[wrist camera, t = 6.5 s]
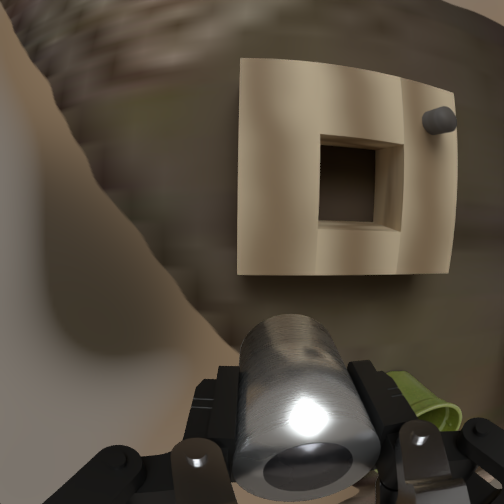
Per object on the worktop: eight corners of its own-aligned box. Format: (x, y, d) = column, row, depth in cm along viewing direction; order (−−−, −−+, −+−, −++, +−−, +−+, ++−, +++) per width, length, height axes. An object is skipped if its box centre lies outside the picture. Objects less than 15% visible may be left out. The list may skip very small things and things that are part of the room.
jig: (422, 104, 21) (468, 88, 14) (417, 257, 24) (463, 280, 18) (241, 82, 21) (239, 45, 14) (239, 256, 24) (236, 285, 17)
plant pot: (332, 395, 28) (354, 456, 19) (406, 339, 26) (450, 387, 18) (370, 432, 29) (393, 483, 21) (433, 385, 28) (469, 429, 20)
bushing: (338, 312, 12) (398, 411, 6) (328, 389, 13) (362, 493, 7) (238, 314, 12) (228, 425, 6) (240, 392, 13) (235, 504, 7)
